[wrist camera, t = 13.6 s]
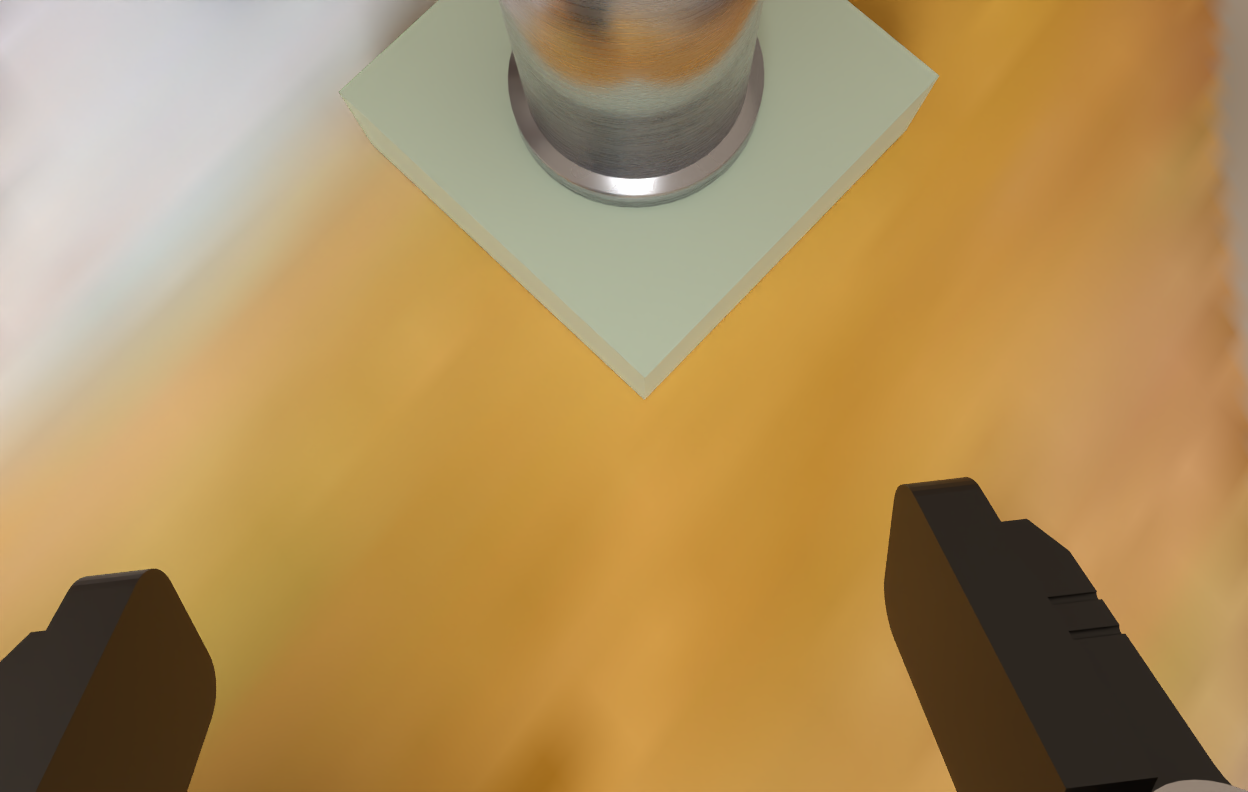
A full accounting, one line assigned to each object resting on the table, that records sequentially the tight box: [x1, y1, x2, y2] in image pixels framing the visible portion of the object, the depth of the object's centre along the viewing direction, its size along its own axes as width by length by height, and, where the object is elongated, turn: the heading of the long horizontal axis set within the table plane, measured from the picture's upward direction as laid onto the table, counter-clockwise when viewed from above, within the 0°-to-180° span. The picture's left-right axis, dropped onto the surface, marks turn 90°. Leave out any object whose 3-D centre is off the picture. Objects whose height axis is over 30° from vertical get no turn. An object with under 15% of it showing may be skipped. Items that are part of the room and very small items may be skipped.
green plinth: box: [339, 0, 939, 400], centre depth 25 cm, size 11×11×3 cm
